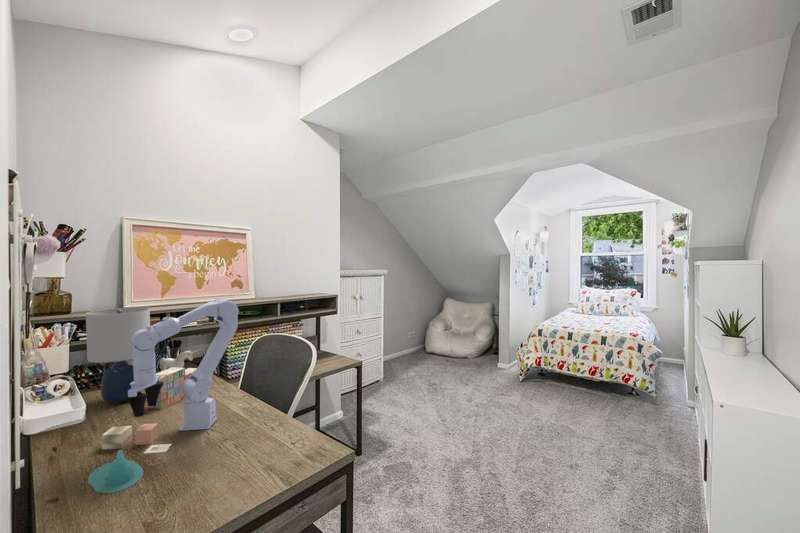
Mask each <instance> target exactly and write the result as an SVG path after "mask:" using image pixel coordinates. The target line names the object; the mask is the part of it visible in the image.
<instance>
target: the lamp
mask: <svg viewBox="0 0 800 533" xmlns="http://www.w3.org/2000/svg"><path fill="white" fill-rule="evenodd" d="M150 314H151V311H150V308H149V307H146V306H145V307H144V306H143V307H141V306H140V307H139V306H138V307H137V306H134V307H133V306H132V307H129V306H128V307H114V308H106V309H97V310H92V311H91V310H90V311H88V312H87V311H86V312H85V327H86V328H85V330H86V332H85V333H86V358H87V359H86V360H87V362H89V363H97V364H98V363H113V365H112V366H110V367H108V368H107V369H106V370H105V371H104V373H103V374H102V376H101V377H102V378H101V383H100V393H101V397H102V399H103V401H104V402H106V403H108V404H121V403H127V402H128V401H127V400H126V399H125V396H126V395H127V394H128V390H130V389H131V387H132V386H130V383H132V382H134V370H133V364H129V362H128V361H129V360H133V354H134V353H133V347H135V346H133V345H132V344H131V341H130V339H131V337H132V335H133V334H134V333H135V332H136V331H138V330H141V329H146V330H147V328H146V327H147V326H149V325H150V326H151V315H150Z"/></svg>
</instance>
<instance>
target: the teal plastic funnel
mask: <svg viewBox="0 0 800 533" xmlns="http://www.w3.org/2000/svg"><path fill="white" fill-rule="evenodd" d="M143 475H144V468H143V467H142V466H141V465H140V464H138V463H137V462H136V461H133V460H127V459H126V458H125V454H124V451H123V450H121V449H119V450H118V451H117V453H116V457H115V459H114V460H113V461H111V462H106V463H104V464H103V465H101V466H99V467H97V468H95V469H94V470H92V471H91V473H89V475H88V479H87V481H88V484H89V485H90V486H91V487H93V489H94V491H95V492H97V493H102V494H104V493H105V494H112V493H115V492H118V491H122V490H124V489H127V488H130V487H131V486H133V485H134V484H137V483H138V482H139V480H140V479H141V478H142V477H143Z"/></svg>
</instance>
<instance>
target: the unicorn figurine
mask: <svg viewBox="0 0 800 533" xmlns="http://www.w3.org/2000/svg"><path fill="white" fill-rule="evenodd" d="M201 350H202V348H199V349H197V350H195V351H191V349H190V350H186V351H183V352H181V353H179V354H178V355H177V356H176V357H175V358H171V357H166V358H165V357H162V358H160V360H159V366H160V367H159V368H160V371H159V372H161V371H164V370H167V369H169V368H172V367H175V368H184V366H185V360H186V358H187V359H188V361H193V359H194V356H193V354H195V353H197V352H199V351H201Z"/></svg>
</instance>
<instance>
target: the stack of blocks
mask: <svg viewBox="0 0 800 533" xmlns="http://www.w3.org/2000/svg"><path fill="white" fill-rule="evenodd" d="M168 368H169V367H168ZM168 368H166V370H164V371H161V370H160V371H161V372H160V371H159V372H156V375H160V381H158V382H163V386H162V388H161V390H160V393H159V396H158V400H157V404H156V406H148V405H147V408H148V409H155V410H163V409H164V408H167V407H169V406H171V405H174V404H175V403H177V402H178V401H181V400H184V398H185V394H184V393H183V392H182V389H181V387H182V384H183V382H184V381H185V380H186V379H188V378H189V377H190V375H191V373H192V372H194V371H195V370H196V369H197V368H198V367H188V368H185V367H183V368H175V367H172V368H169V369H168Z"/></svg>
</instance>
